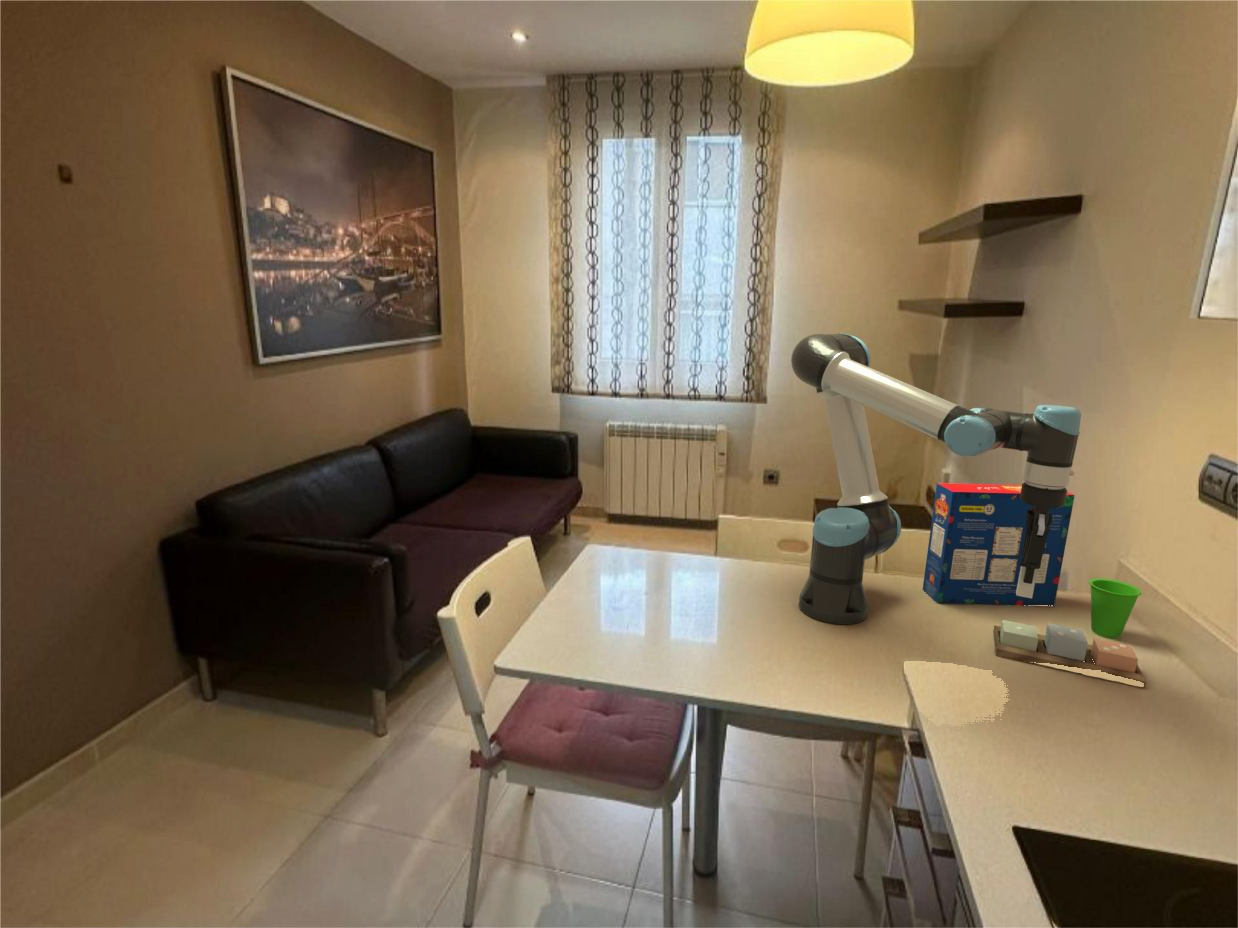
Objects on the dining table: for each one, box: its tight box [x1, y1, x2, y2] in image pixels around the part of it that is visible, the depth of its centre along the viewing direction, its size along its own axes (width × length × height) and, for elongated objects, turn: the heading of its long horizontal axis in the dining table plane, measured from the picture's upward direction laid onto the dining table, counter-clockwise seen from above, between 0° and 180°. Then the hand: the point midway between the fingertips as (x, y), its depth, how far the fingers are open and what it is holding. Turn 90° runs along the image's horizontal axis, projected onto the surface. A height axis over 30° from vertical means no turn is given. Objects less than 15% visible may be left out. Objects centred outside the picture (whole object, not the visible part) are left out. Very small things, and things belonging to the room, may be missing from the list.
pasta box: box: [922, 482, 1075, 607], centre depth 155 cm, size 28×8×28 cm, turn 89°
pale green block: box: [999, 619, 1038, 652], centre depth 133 cm, size 6×6×4 cm
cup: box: [1088, 578, 1142, 639], centre depth 140 cm, size 9×9×11 cm
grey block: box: [1044, 622, 1089, 662], centre depth 129 cm, size 6×6×4 cm
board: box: [993, 624, 1146, 685], centre depth 129 cm, size 24×12×2 cm, turn 62°
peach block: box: [1090, 637, 1139, 673], centre depth 126 cm, size 6×6×4 cm
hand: (1023, 595), depth 131 cm, fingers closed
